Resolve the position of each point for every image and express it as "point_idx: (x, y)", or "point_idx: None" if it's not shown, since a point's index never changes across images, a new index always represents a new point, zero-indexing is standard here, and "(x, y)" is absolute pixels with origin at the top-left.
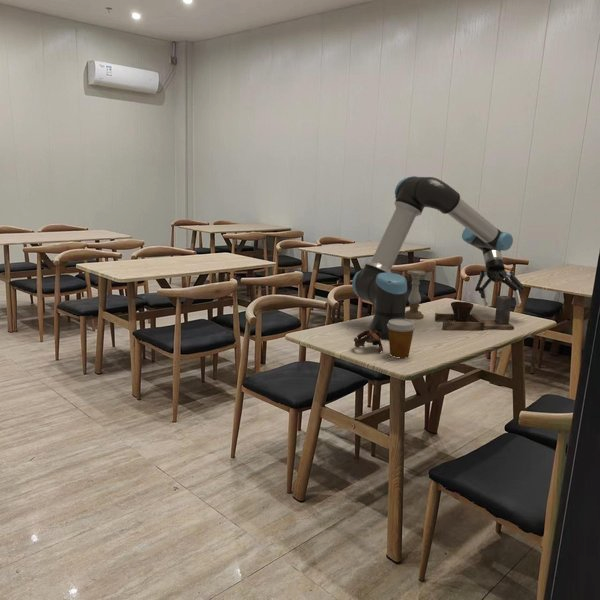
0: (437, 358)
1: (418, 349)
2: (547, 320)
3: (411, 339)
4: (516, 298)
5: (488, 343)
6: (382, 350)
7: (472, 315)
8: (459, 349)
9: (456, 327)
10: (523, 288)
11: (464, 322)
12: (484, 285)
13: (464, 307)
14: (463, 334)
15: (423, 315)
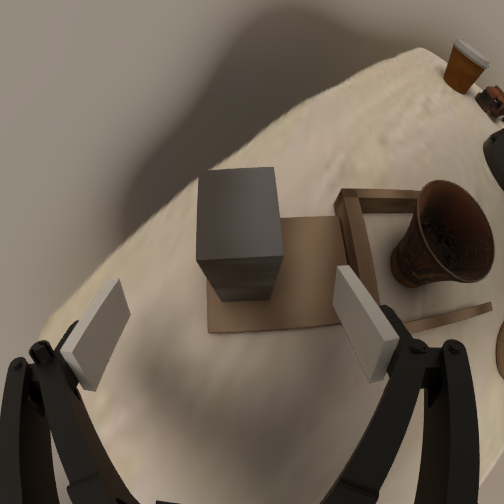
0: (409, 66)
1: (445, 97)
2: None
3: (450, 57)
4: (108, 336)
5: (330, 102)
6: (476, 97)
7: None
8: (387, 84)
9: None
10: (19, 358)
11: (410, 191)
12: (409, 381)
13: (444, 182)
14: (395, 165)
15: (501, 344)
